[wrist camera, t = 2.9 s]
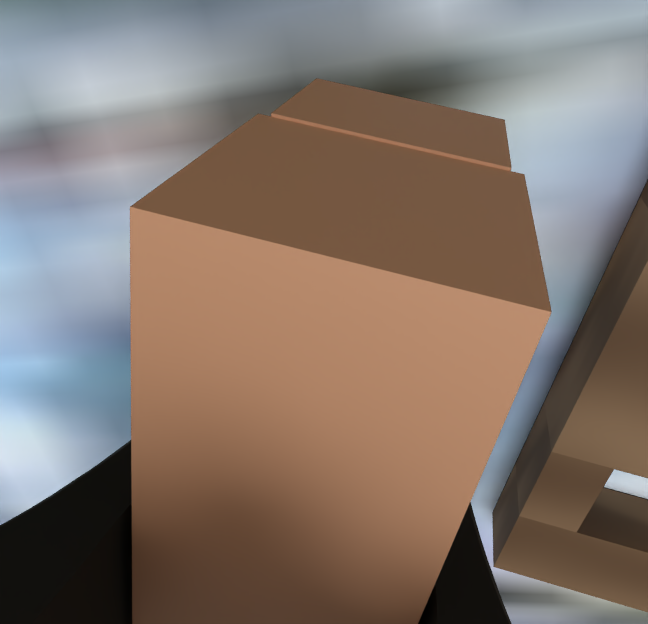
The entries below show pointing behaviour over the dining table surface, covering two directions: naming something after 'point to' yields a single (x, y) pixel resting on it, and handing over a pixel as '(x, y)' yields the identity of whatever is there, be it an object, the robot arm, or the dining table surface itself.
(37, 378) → the dining table surface
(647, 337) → the brown flat slab
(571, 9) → the dining table surface
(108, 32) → the dining table surface
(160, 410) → the tan stepped block
